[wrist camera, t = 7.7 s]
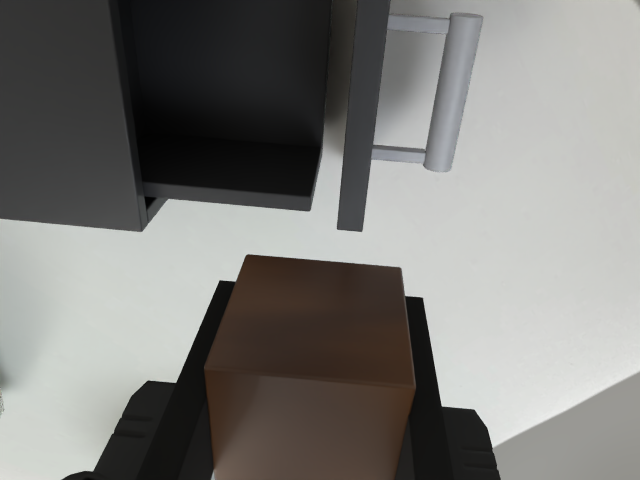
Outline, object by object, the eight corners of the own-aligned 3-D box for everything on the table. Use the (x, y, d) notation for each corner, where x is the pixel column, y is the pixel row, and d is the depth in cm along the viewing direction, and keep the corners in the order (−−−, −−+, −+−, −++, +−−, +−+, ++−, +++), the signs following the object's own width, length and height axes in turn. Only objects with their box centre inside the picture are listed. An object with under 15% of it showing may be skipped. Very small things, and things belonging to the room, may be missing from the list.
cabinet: (185, -80, 25) (94, -93, 16) (201, 157, 31) (142, 232, 23) (-96, -99, 25) (-320, -122, 17) (-23, 137, 32) (-159, 204, 23)
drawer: (475, -45, 24) (518, -42, 17) (432, 174, 29) (452, 240, 23) (114, -71, 24) (19, -78, 18) (143, 148, 30) (80, 206, 23)
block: (402, 266, 14) (417, 387, 10) (383, 378, 16) (389, 511, 12) (245, 253, 14) (202, 367, 10) (249, 365, 16) (214, 493, 13)
